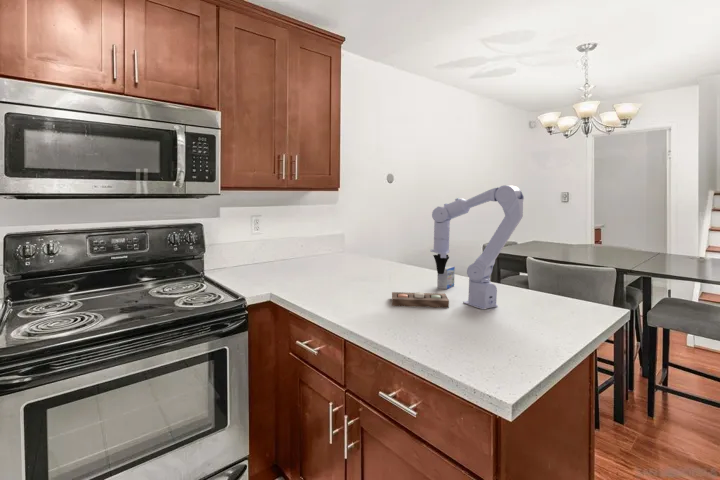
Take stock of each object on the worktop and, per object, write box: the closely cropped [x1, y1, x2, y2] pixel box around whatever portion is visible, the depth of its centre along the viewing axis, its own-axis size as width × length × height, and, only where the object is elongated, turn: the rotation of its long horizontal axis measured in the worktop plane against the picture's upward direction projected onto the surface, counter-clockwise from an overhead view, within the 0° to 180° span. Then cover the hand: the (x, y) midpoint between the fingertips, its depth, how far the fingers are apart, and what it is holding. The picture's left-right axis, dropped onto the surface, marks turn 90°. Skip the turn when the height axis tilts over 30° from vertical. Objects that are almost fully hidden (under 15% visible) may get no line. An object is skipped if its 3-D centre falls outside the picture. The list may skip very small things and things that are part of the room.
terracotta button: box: [398, 294, 408, 298], centre depth 145 cm, size 4×4×2 cm
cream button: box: [413, 291, 425, 298], centre depth 144 cm, size 4×4×2 cm
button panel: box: [391, 291, 450, 309], centre depth 144 cm, size 20×10×2 cm, turn 85°
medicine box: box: [437, 265, 456, 290], centre depth 169 cm, size 8×4×9 cm, turn 143°
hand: (440, 273), depth 151 cm, fingers closed
